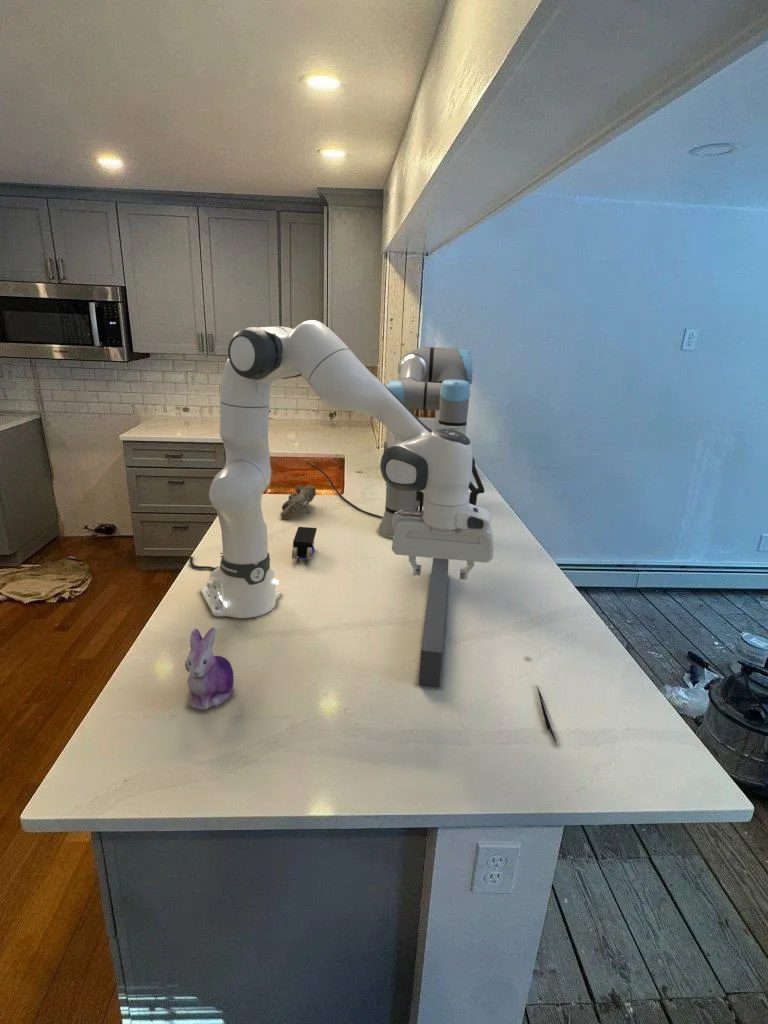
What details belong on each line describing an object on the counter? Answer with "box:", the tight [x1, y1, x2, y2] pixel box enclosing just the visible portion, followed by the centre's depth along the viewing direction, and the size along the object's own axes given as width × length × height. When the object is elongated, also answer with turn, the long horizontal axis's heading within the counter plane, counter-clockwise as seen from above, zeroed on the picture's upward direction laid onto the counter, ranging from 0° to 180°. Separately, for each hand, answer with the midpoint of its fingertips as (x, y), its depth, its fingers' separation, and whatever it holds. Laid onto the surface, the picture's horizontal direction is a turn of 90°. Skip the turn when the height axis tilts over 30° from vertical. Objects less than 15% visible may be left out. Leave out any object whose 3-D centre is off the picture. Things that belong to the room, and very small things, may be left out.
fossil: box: [280, 484, 317, 520], centre depth 215 cm, size 22×10×15 cm
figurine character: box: [291, 526, 318, 564], centre depth 177 cm, size 7×8×15 cm
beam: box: [418, 558, 450, 688], centre depth 143 cm, size 54×4×9 cm, turn 172°
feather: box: [527, 657, 557, 743], centre depth 118 cm, size 2×28×2 cm
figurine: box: [184, 626, 234, 711], centre depth 111 cm, size 9×10×15 cm
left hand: (439, 576), depth 116 cm, fingers open, 8 cm apart
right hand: (444, 514), depth 159 cm, fingers open, 13 cm apart
